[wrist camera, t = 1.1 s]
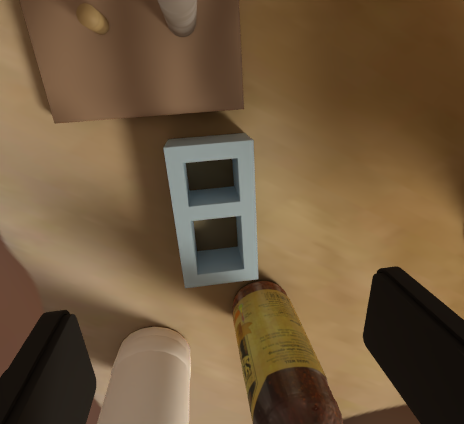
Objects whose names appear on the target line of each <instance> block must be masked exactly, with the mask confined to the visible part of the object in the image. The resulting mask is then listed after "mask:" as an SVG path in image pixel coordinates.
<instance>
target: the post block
mask: <svg viewBox="0 0 464 424" xmlns="http://www.w3.org/2000/svg"><path fill="white" fill-rule="evenodd" d="M19 1H20V5H21V8H22V12H23V15H24V19H25V22H26V26H27V29H28V33H29V36H30V39H31V43H32V46H33V50H34V53H35V57H36V60H37V64H38V67H39V71H40V74H41V78H42V81H43V85H44V88H45V92H46V95H47V99H48V102H49V106H50V109H51V113H52V116H53V120H54V123H67V122H80V121H93V120H106V119H119V118H133V117H146V116H159V115H172V114H185V113H198V112H211V111H224V110H238V109H244V99H243V77H242V56H241V34H240V13H239V0H19Z"/></svg>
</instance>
